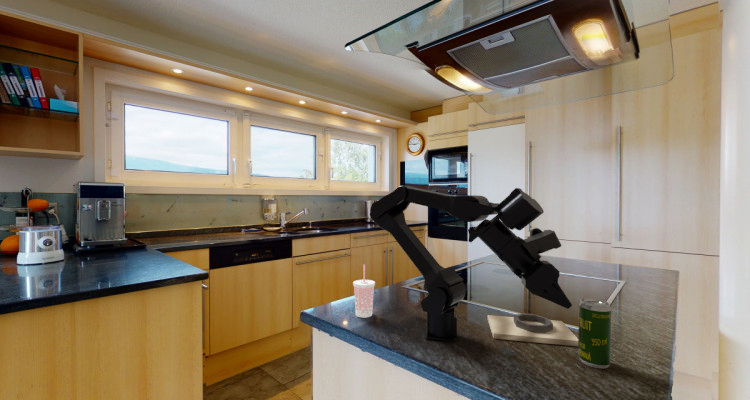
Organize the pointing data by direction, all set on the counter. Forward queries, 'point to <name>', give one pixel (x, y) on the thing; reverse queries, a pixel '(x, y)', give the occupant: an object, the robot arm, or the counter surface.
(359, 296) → the beverage cup
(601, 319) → the beer can
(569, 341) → the board with grey ring
